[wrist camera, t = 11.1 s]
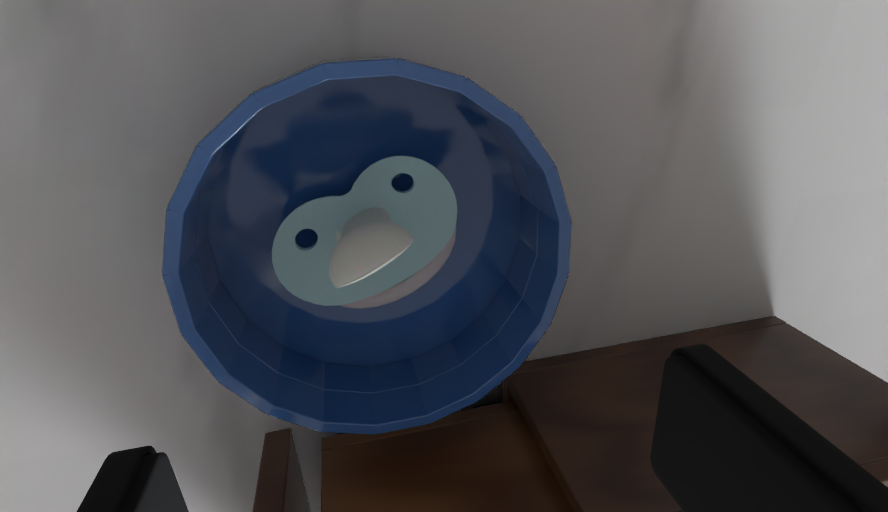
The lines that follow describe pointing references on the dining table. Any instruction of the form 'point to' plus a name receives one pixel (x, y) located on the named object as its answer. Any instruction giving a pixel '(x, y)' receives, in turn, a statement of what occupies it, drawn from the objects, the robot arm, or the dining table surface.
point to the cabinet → (637, 395)
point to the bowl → (282, 191)
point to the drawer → (419, 468)
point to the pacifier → (370, 238)
